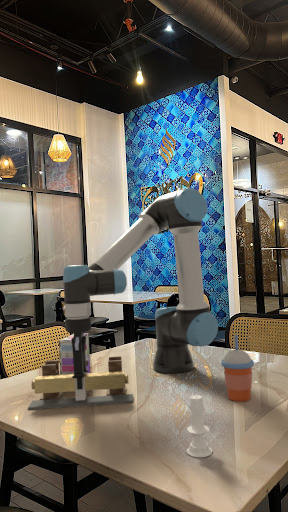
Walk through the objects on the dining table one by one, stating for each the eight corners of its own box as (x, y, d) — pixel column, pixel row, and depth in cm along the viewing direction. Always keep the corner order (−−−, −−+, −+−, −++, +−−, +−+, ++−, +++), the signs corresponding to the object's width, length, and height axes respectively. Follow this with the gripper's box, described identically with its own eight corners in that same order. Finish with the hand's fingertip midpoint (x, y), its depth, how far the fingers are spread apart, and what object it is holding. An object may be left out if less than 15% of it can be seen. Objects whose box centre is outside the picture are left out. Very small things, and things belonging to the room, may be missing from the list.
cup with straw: (237, 405, 112) (233, 339, 113) (216, 397, 120) (213, 335, 121) (262, 399, 117) (259, 335, 117) (241, 391, 125) (237, 331, 125)
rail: (128, 384, 124) (127, 370, 124) (128, 387, 121) (128, 374, 121) (33, 390, 123) (33, 376, 123) (31, 393, 119) (30, 379, 119)
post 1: (63, 392, 133) (62, 359, 133) (59, 400, 125) (58, 365, 125) (44, 393, 132) (43, 360, 132) (39, 401, 124) (38, 366, 125)
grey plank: (132, 395, 125) (132, 393, 125) (133, 402, 119) (133, 400, 119) (32, 402, 124) (32, 400, 124) (28, 409, 118) (27, 407, 118)
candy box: (77, 391, 133) (74, 339, 133) (60, 391, 134) (57, 340, 134) (91, 379, 146) (89, 332, 147) (75, 378, 148) (73, 332, 148)
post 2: (126, 388, 134) (124, 355, 134) (126, 395, 126) (124, 361, 126) (107, 389, 133) (105, 356, 134) (106, 397, 125) (104, 362, 126)
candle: (183, 456, 85) (180, 397, 85) (190, 445, 90) (187, 389, 90) (209, 459, 83) (206, 399, 83) (214, 447, 88) (211, 391, 88)
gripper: (68, 314, 130) (72, 389, 130) (60, 322, 113) (64, 408, 113) (92, 313, 130) (96, 388, 130) (88, 320, 114) (92, 406, 113)
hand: (81, 397), depth 121 cm, fingers closed on rail, 3 cm apart
